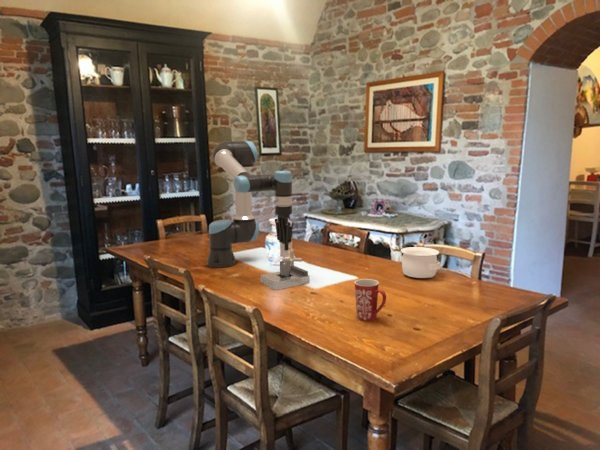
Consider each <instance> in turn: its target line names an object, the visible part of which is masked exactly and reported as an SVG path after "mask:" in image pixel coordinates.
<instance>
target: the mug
mask: <svg viewBox="0 0 600 450" xmlns="http://www.w3.org/2000/svg"><path fill="white" fill-rule="evenodd" d="M353 283H354V292H355V293H354V294H355V296H354V297H355V308H356V309H355V310H356V313H355V314H356V318H357V320H360V321H365V322H367V321H368V322H369V321H375V320H376V319H377V315H378V313H379V312H380V311H381V310H382V308H384V307H385V304H386V302H387V294H386V292H385V290H383V289H379V284H380V282H379V281H378V280H376V279H371V278H361V279H356V280H355V281H354V282H353ZM379 293H380V294H381V296H382V301H381V304H380V305H379V307H378V298H379Z"/></svg>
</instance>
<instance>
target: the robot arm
mask: <svg viewBox="0 0 600 450" xmlns="http://www.w3.org/2000/svg"><path fill="white" fill-rule="evenodd" d="M258 156H259V155H258V149H257V146H256V145H255V144H254V142H253V141H248V140H236V141H235V140H234V141H233V140H231V141H228V140H227V141H226V140H225V141H221V142H219V143H218V144H216V145H215V146H214V147H213V150H212V155H211V157H212V161H213V162H214V164H215V165H216V166H217V167H218V168H222V169H223V170H224V172H225V173H226V174H227V175H228V176H229V177H230V178H231V179H232V180H233V187H234V192H235V193H234V195H235V197H234V199H235V215H234V216H233V217H232V221H231V220H230V219H219V220H214V221H212V222H211V223H210V224H209V225H208V236H209V238H208V239H209V241H208V242H209V253H208V255H207V258H206V266H208V267H210V268H214V269H215V268H219V269H220V268H228V267H232V266H235V265H236V257H235V254H234V251H233V245H232V244H240V243H249V242H254V241H256V240H257V238H258V237H259V234H260V226H259V222H258V221H257V220H256V218H255V216H254V215H253V208H252V205H253V203H252V193H256V192H269V191H270V192H271V191H273V192H274V196H275V197H274V201H275V202H274V203H275V209H274V211H275V215H277V218H274V223H275V230H276V231H275V232H276V239H277V241H278V242H279V245H280V246H279V247H280V248H279V249H280V257H283V258H290V251H289V244H290V243H292V241H293V240H292V239H293V227H294V224H295V222H294V221H291V215H292V214H293V206H292V205H293V195H292V194H293V192H292V191H293V185H292V184H293V177H292V172H291V170H276V171H275V172H274V173H266V174H252V169H254V164H256V163H257V162H258Z"/></svg>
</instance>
